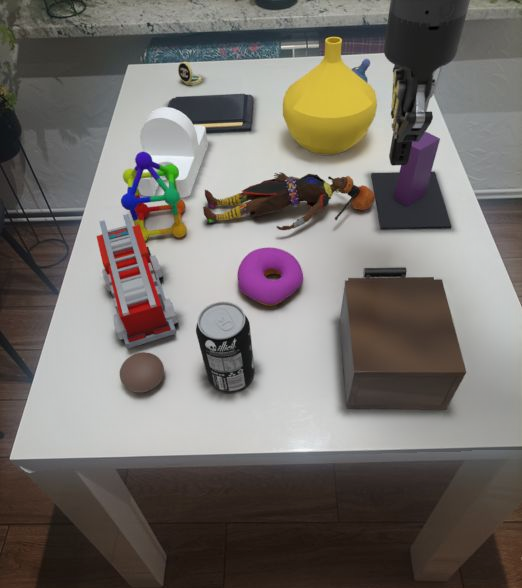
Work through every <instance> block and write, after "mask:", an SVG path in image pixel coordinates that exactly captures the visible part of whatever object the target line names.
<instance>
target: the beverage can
mask: <svg viewBox="0 0 522 588" xmlns="http://www.w3.org/2000/svg"><path fill="white" fill-rule="evenodd" d="M197 317H198V318H197V323H196V328H195V334H196V337H197V341H198V345H199V349H200V354H201V357H202V361H203V364H204V368H205V372H206V376H207V380H208V381H209V383H210V384H211V385H212V386H213V387H214V388H216V389H217V390H219V391H222V392H237V391H238V390H242V389H243V388H245V387H246V386H248V385H249V384H250V382H251V381H252V380H253V378H254V375H255V362H254V352H253V343H252V335H251V334H252V333H251V325H250V321H249V319H248V318H249V317H247V315H246V314H245V312H244V311H243V309H242V307H241V306H240V305H238V304H236V303H234V302H229V301H217V302H213V303H211V304H209V305H206V306H205V307H204V308H203V309H202V310H201V311H200V313H199V314H198V316H197Z"/></svg>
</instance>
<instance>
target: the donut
mask: <svg viewBox="0 0 522 588" xmlns="http://www.w3.org/2000/svg"><path fill="white" fill-rule="evenodd" d="M271 274H277V275H279V276H280V278H278V279H269V278H267V276H268V275H271ZM236 275H237V286H238V289H239V290H240V292H241V293H243V294H244V295H246V296H247V297H249V298H250V300H254V301H255V302H257V303H259V304H261V305H264V306H270V307H272V306H277V305H278V304H280V303H282V302H283V301H284V300H286V299H287V298H288V297H290V296H293V294H294V293H295V292H296V291H297V290H298V289H299V288H301V286H302V285H303V283H304V272H303V269H302V266H301V264H300V262H299V261H298V259H297V258H296V257H295V256H294V255H293V254H292V253H290V252H288V251H287V250H284V249H281V248H277V247H259V248H257V249H254V250H252V251H250V252H248V253H247V254H246V255H245V256H244V258H242V260H241V261H240V263H239V265H238V268H237V274H236Z"/></svg>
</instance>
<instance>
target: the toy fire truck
mask: <svg viewBox="0 0 522 588" xmlns="http://www.w3.org/2000/svg"><path fill="white" fill-rule="evenodd" d="M122 216H123V219H124V222H125V225H123V226H119V227H115V228H111V229H108V228H107V227H108V226H107V224H106V221H105V219H104V220H100V221H98V222H99V226H100V230H101V234H99V235H96V240H97V244H98V249H99V253H100V258H101V263H102V266H103V269H102V277H103V281H104V284H105V287H106V290H107V292H108V293H109V294H111V295H112V297H113V298H112V300H113V305H114V308H115V310H116V312H117V314H113V316H112V320H113V325H114V329H115V333H116V335H117V339H118V340H119V341H122V342H123V341H124V344H125V347H126V348H127V350H128V349H131V348H135V347H138V346H140V345H143V344H147V343H150V342H153V341H157V340H160V339H163V338H167V337H170V336H173V335H177V330H176V327H175V326H176V325H179V322H180V321H179V319H178V316H177V314H176V311H175V308H174V304H173V302H172V301H171V299H170V298H168V299H166V296H165V293H164V289H163V287H162V284H161V280H162V279H164V274H163V271H162V268H161V265H160V262H159V260H158V258H157V256H156V255H155V254H153V255H152V253H151V250H150V249H149V246H147V244H146V241H145V240H144V237H143V234H142V231H141V228H140V225H136V226H135V225H132V222H131V218H130V214H128V213H127V214H123V215H122Z"/></svg>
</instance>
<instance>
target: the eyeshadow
mask: <svg viewBox="0 0 522 588" xmlns="http://www.w3.org/2000/svg"><path fill="white" fill-rule="evenodd" d="M177 73H178V77H179V79H180V80H181V81H182V82H183V83H184V84H185V85H187V86H196V85H199V84H200V83H201V82H202V81H203V78H202V76H201V75H199V74H195V73H193V69H192V67H191V65H190V62H188V61H182V62H180V63H178V67H177Z"/></svg>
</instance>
